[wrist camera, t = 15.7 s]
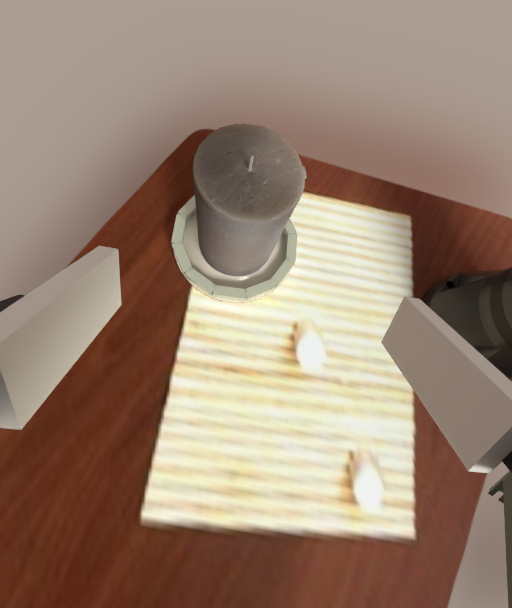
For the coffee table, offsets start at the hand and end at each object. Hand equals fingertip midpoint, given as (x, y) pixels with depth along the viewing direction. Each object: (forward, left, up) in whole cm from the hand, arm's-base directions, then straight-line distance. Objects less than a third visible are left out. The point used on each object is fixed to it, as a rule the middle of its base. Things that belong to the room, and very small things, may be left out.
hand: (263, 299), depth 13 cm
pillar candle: (+1, -13, -21) cm, 25 cm away
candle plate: (+1, -13, -22) cm, 26 cm away
